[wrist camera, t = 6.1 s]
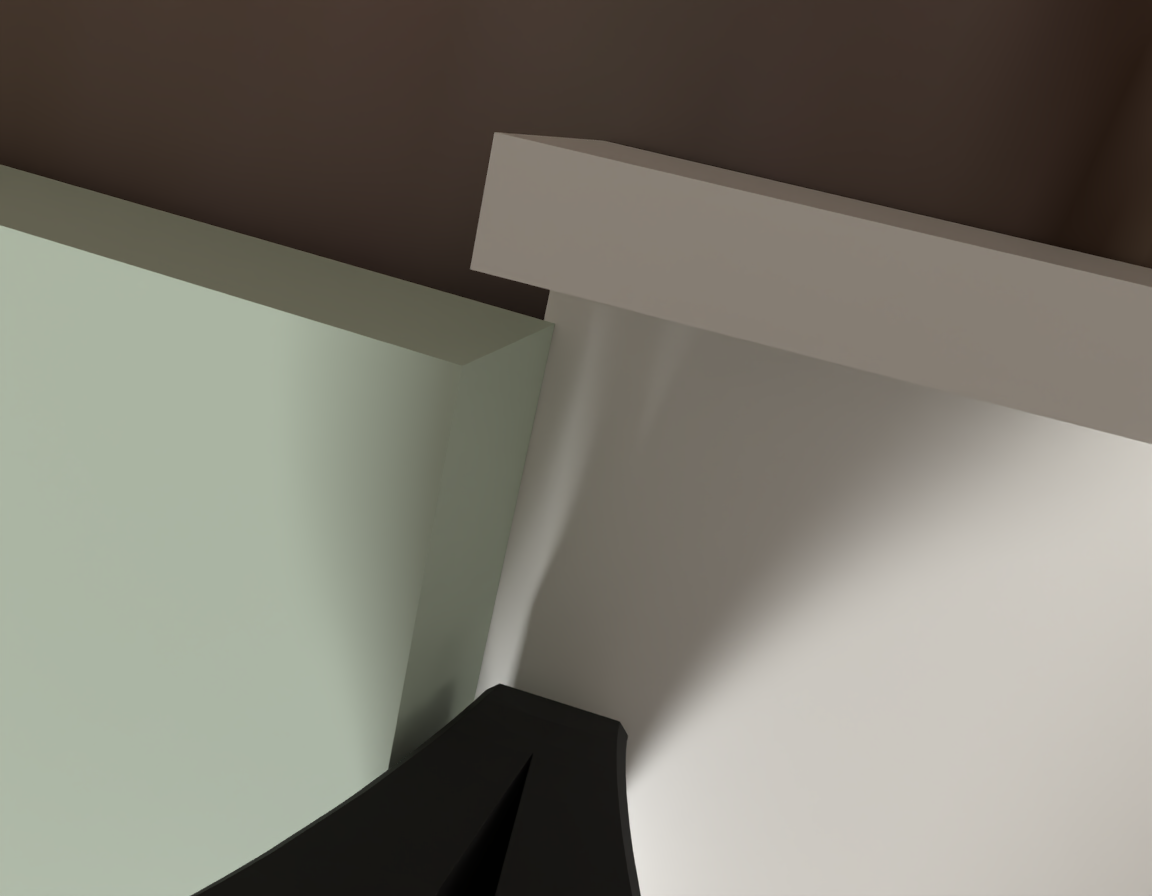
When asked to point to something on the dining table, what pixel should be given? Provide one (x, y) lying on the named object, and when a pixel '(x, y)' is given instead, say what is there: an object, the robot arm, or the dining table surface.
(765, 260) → the box
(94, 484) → the cover plate
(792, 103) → the dining table surface
